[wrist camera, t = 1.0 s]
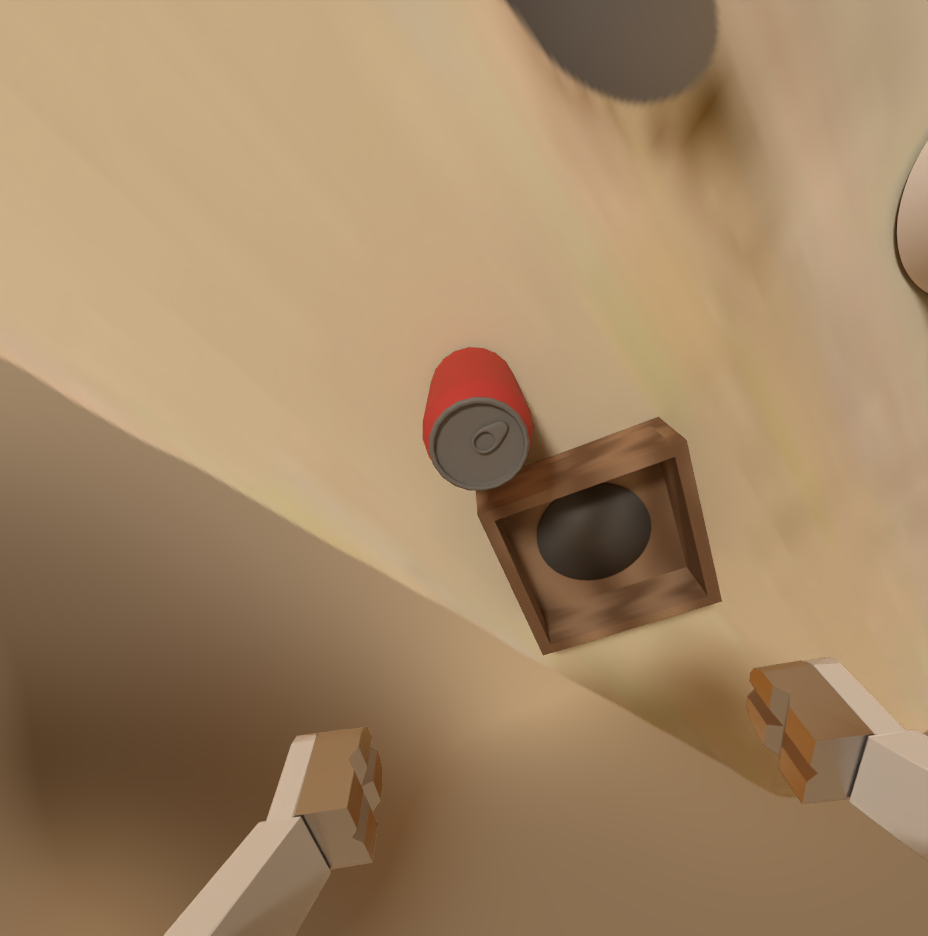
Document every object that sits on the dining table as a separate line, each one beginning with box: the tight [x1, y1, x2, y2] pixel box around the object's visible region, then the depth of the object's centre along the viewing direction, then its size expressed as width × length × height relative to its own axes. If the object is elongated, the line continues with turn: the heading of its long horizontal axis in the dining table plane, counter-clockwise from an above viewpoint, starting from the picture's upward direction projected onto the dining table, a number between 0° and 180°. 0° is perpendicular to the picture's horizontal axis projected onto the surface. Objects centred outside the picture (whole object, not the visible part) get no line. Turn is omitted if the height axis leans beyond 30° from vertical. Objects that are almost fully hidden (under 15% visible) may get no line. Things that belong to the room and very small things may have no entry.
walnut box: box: [476, 417, 722, 655], centre depth 39 cm, size 16×16×5 cm
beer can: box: [423, 347, 533, 491], centre depth 30 cm, size 7×7×12 cm
